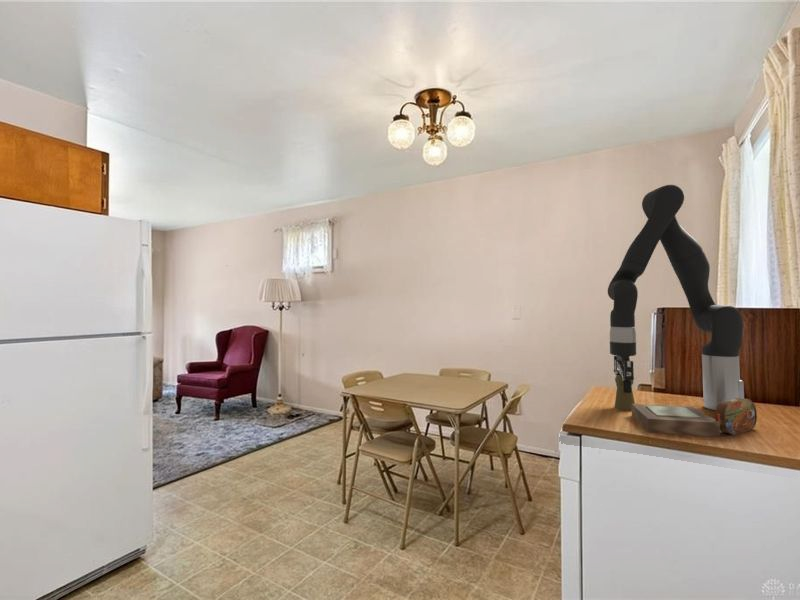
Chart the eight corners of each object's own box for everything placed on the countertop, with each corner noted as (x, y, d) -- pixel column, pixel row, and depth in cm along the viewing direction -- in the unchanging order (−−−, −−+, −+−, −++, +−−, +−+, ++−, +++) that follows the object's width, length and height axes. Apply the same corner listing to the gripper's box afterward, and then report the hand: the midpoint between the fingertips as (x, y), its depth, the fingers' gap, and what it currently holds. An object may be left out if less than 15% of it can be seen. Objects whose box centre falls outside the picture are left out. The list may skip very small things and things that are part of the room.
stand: (693, 418, 113) (692, 405, 113) (720, 436, 98) (719, 421, 98) (631, 415, 118) (631, 402, 118) (648, 432, 102) (648, 417, 103)
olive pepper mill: (610, 406, 128) (609, 373, 128) (627, 405, 129) (626, 373, 129) (622, 411, 122) (621, 377, 122) (640, 410, 123) (639, 376, 123)
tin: (727, 437, 97) (725, 404, 97) (713, 433, 100) (711, 401, 100) (759, 428, 103) (757, 397, 104) (744, 425, 106) (743, 395, 106)
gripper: (642, 342, 118) (643, 395, 117) (629, 338, 131) (630, 386, 131) (615, 342, 120) (616, 394, 120) (605, 338, 133) (606, 384, 133)
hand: (623, 389), depth 125 cm, fingers open, 8 cm apart
